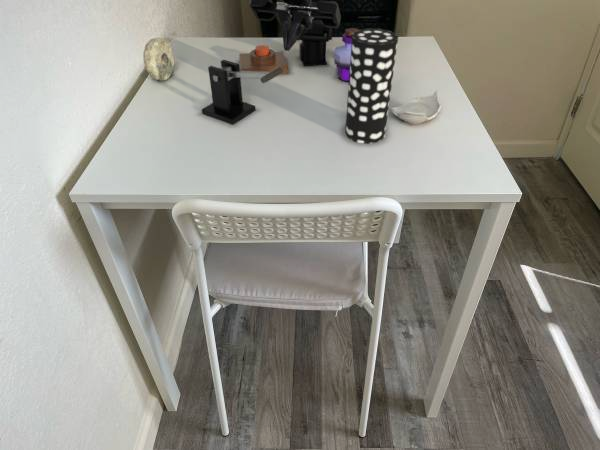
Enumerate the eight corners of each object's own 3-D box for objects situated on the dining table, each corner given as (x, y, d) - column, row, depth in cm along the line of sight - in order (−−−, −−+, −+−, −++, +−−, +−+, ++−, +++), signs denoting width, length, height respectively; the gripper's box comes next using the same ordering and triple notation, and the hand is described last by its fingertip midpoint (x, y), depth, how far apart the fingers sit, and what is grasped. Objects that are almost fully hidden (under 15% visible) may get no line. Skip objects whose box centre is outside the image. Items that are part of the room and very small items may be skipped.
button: (268, 51, 122) (268, 44, 120) (270, 56, 119) (269, 49, 118) (255, 52, 121) (254, 45, 120) (256, 57, 118) (255, 50, 117)
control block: (283, 59, 127) (282, 44, 124) (288, 73, 119) (287, 58, 117) (240, 61, 125) (238, 47, 123) (242, 76, 118) (240, 61, 115)
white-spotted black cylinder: (388, 127, 98) (401, 31, 85) (380, 146, 92) (393, 47, 79) (350, 121, 100) (358, 26, 87) (340, 139, 94) (347, 41, 81)
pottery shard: (429, 107, 105) (434, 87, 101) (449, 132, 97) (454, 110, 93) (386, 110, 104) (389, 90, 100) (402, 136, 95) (406, 114, 92)
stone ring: (158, 87, 113) (149, 47, 107) (146, 85, 114) (136, 45, 108) (180, 71, 120) (172, 32, 114) (168, 70, 121) (160, 31, 115)
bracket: (255, 110, 104) (252, 63, 97) (232, 124, 99) (227, 77, 92) (225, 100, 108) (220, 55, 101) (202, 114, 103) (194, 67, 96)
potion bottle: (352, 88, 113) (356, 38, 105) (324, 78, 117) (326, 30, 109) (371, 76, 118) (376, 28, 110) (344, 68, 122) (347, 21, 114)
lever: (284, 76, 93) (281, 64, 91) (266, 86, 89) (263, 74, 87) (230, 74, 101) (227, 63, 99) (212, 84, 97) (208, 72, 96)
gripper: (248, -50, 90) (231, 25, 89) (340, -44, 86) (322, 35, 85) (265, -16, 101) (249, 51, 100) (347, -9, 96) (331, 61, 96)
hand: (286, 50), depth 95 cm, fingers closed
